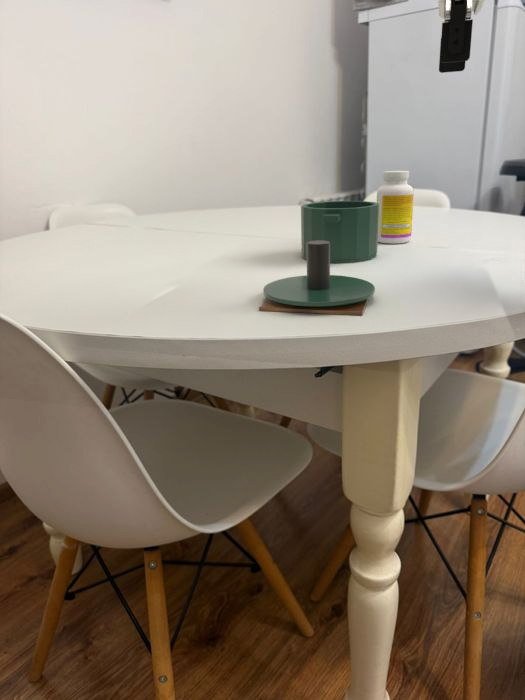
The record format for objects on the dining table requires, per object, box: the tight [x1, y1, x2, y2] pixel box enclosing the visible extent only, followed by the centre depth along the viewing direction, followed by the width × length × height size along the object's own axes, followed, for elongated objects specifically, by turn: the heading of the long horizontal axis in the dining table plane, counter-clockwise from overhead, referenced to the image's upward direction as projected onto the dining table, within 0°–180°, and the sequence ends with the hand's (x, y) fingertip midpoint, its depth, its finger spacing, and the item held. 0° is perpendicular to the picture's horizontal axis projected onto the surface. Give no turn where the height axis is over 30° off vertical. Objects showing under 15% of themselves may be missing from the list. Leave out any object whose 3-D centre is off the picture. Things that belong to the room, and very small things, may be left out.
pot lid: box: [262, 240, 376, 307], centre depth 65 cm, size 14×14×7 cm
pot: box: [300, 200, 379, 264], centre depth 91 cm, size 13×18×8 cm
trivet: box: [258, 297, 371, 316], centre depth 66 cm, size 12×12×1 cm
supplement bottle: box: [376, 170, 414, 245], centre depth 101 cm, size 7×7×13 cm
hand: (452, 66), depth 66 cm, fingers open, 9 cm apart
